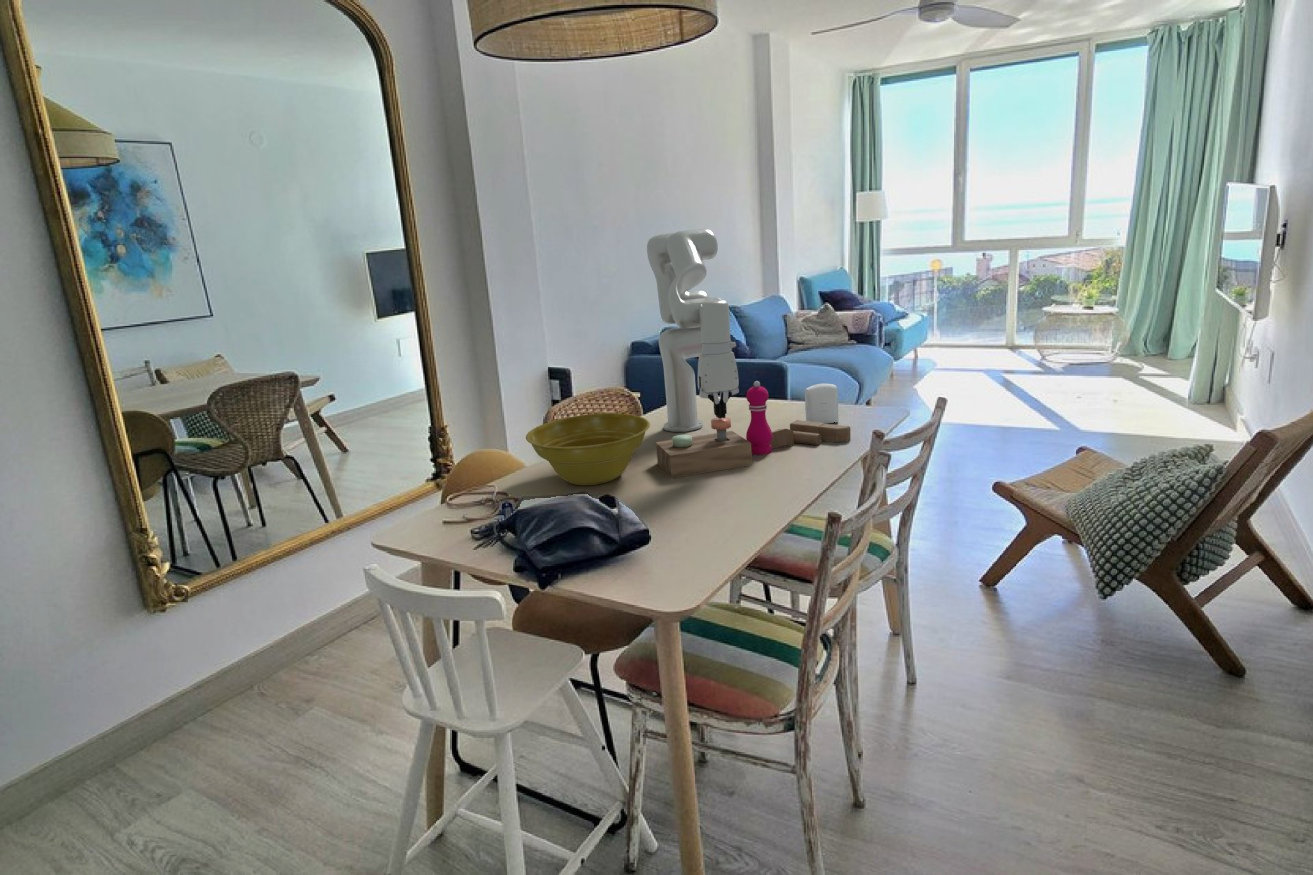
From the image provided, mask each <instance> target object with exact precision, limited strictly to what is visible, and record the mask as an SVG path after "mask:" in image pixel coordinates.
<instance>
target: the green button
mask: <svg viewBox="0 0 1313 875" xmlns="http://www.w3.org/2000/svg"><path fill="white" fill-rule="evenodd" d="M692 437H693V436H692V435H691V434H677V435H674V436H672V438H671V440H673V446H674V447H678V448H684V447H688V446H691V445H692Z"/></svg>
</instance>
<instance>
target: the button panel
mask: <svg viewBox="0 0 1313 875" xmlns="http://www.w3.org/2000/svg"><path fill="white" fill-rule="evenodd" d="M726 434H727V441H723V442H717V432H716V433H710V434H709V433H708V434H702V435H695V436H692V445H691V446H688V447H684V448H678V447H674V446H673V440H672V439H669V440H662V441H656V442H655V447H656V449H655V450H656V460H657V464H658V465H659V467H661V468H662V469H663V471H664V472H666V474H668V476H669V477H670V478H671V479H674V478H680V477H686V476H692V475H697V474H698V475H699V474H703V473H704V474H706V473H710V472H717V471H724V470H729V469H736V468H741V467H748V466H752V465H753V459H752V458H753V457H752V455H753V454H752V453H751V443H750V442H749V441H747V439H746V438H744V437H742V436H741V435H740V434H737V433H736V432H735V431H733V430H728V431H727V430H726Z"/></svg>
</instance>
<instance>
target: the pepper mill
mask: <svg viewBox="0 0 1313 875" xmlns="http://www.w3.org/2000/svg"><path fill="white" fill-rule="evenodd" d="M745 399H746V401H747V402H748V403H749V404H748V410H749V411H750V422H749V425H748V427H747V430H746V435H745V439H746V440H747V441H749V442H750V443H751V453H752V455H753V456H754V455H757V456H760V455H762V456H763V455H767V454H770V453H772V449H771V444H769V443H770V441H771V440H772V437H773V436H772V432H773V431H772V429H771V426H770V425H769V423H768V420H767V416H766V415H767V414H766V410H767V409H768V403H767V401H768V399H769V391H768V390H767V389H766V388H765V386H761V383H760V381H758V380H756V381H754V382H753V386H752V387H750V388H749V389H747V392H746V397H745Z"/></svg>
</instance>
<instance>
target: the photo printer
mask: <svg viewBox="0 0 1313 875" xmlns="http://www.w3.org/2000/svg"><path fill="white" fill-rule="evenodd" d="M804 407H805V408H804V409H805V421H810V422H820V423H825V424H833V423H834V422H835V423H838V422H839V391H838V387H837V385H835V384H832V383H817V384H813V385H811V386H809V387H807V388H805V390H804Z"/></svg>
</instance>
